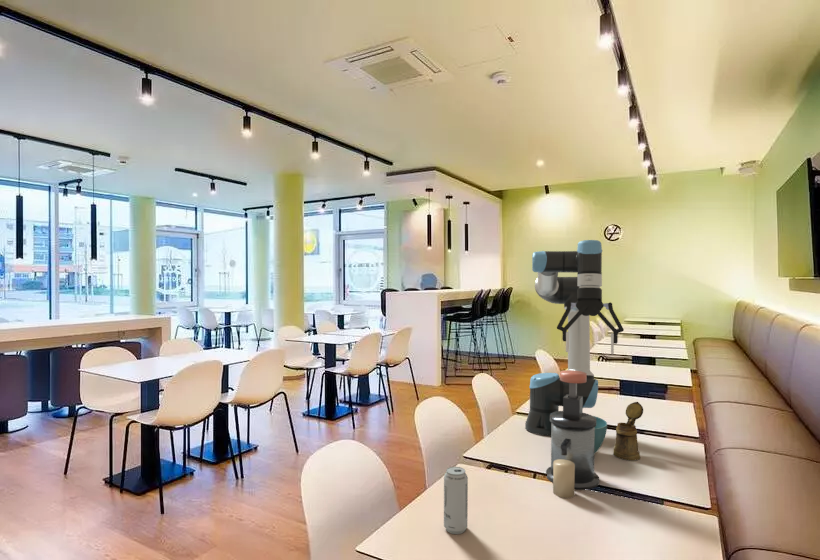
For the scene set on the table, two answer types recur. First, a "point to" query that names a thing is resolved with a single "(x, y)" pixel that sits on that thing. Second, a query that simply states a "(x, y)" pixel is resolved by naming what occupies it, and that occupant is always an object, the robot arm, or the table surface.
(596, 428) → the teal bowl
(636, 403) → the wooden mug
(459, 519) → the energy drink can
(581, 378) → the pump head
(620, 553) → the table surface
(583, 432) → the airpot
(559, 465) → the beige rounded cylinder
